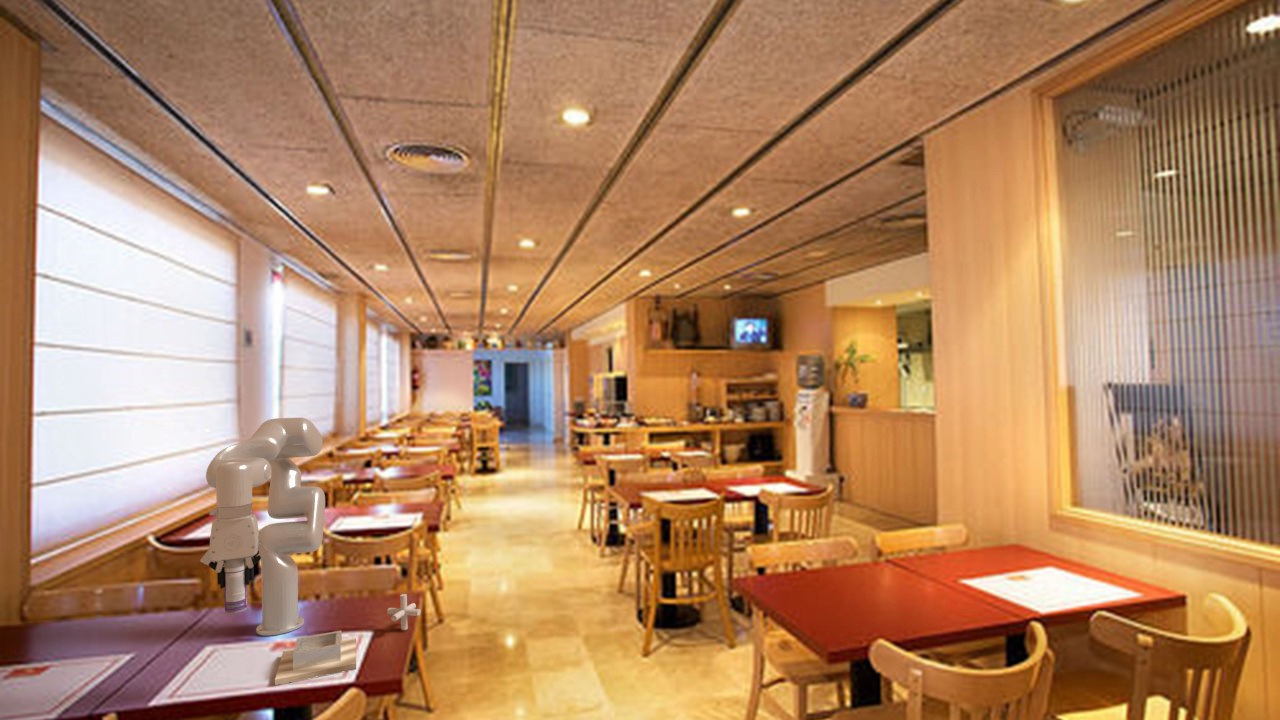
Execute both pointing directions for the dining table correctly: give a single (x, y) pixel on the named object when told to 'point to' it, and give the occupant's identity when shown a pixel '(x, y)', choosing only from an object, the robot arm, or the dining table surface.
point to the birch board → (290, 675)
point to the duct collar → (317, 650)
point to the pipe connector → (403, 611)
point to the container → (235, 586)
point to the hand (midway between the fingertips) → (235, 584)
